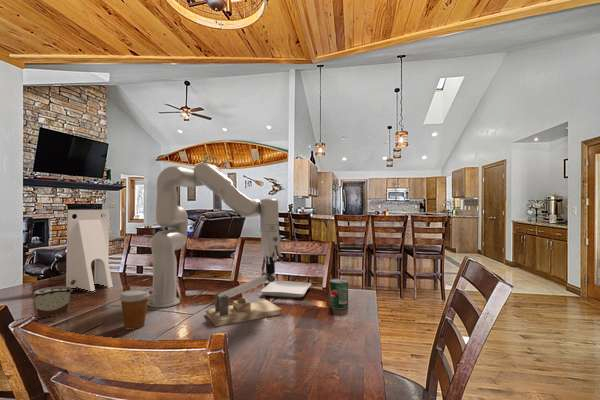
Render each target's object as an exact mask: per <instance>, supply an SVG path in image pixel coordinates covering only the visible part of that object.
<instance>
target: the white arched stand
mask: <svg viewBox="0 0 600 400" xmlns="http://www.w3.org/2000/svg"><path fill="white" fill-rule="evenodd" d="M66 213H67V217H66V221H67V223H66V260H65V261H66V265H65V266H66V267H65V269H66V272H65V275H66V276H65V282H66V283H65V286H68V287H71V288H76V287H78V288H81V289H85V290H88V291H87V292H89V291H94V290H95V291H96V289H95V285H94V284H100V285H99V286H101V285H104V286H103V287H105V286H107V287H106V288H108V289H111V288H110V287H113V280H112V274H111V270H110V264H109V256H110V255H109V253H110V249H109V248H110V209H67V212H66ZM102 214H104V217H102ZM73 215H76V217H75V218H73ZM93 261H94V277H93V271H92V262H93ZM72 281H75V283H74V284H72ZM78 288H77V289H78ZM113 288H114V287H113ZM81 289H80V290H81ZM85 290H84V291H85ZM95 291H94V292H95Z"/></svg>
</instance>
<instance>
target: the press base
mask: <svg viewBox="0 0 600 400" xmlns="http://www.w3.org/2000/svg"><path fill="white" fill-rule="evenodd" d="M223 292H224V291H222V292H215V295H214V296H215V302H214V308H209V309H208V308H206V309H205V315H206V317H208V319H210V321H211V322H212V323H213V324H214V325H215V327H220V326H225V325H229V324H236V323H240V322H246V321H251V320H258V319H263V318H269V317H272V316H273V317H274V316H279V315H282V311H283V310H282V308H281V307H279V306H278V305H276V304H274V303H273V302H271V301H269V300H268V299H266V300H265V299H264V300H258V301H253V302H251V301H248V300H247V299H245V298H244V297H239V298H238V300H237V299H236V300H232V305H229V298H228V295H227V296H220V300H219V299H218V294H220V293H223Z"/></svg>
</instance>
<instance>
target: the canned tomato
mask: <svg viewBox="0 0 600 400" xmlns="http://www.w3.org/2000/svg"><path fill="white" fill-rule="evenodd" d="M329 307H330V308H332V309H335V310H345V309H348V308H349V280H348V279H346V278H331V279H329Z"/></svg>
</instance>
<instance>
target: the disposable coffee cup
mask: <svg viewBox="0 0 600 400" xmlns="http://www.w3.org/2000/svg"><path fill="white" fill-rule="evenodd" d="M150 295H151V293H150V292H149V290H148V289H145V288H144V289H143V288H138V289H135V288H134V289H129V290H124V291H123V292H121V293H120V296H119V299H120V303H121V311H122V319H123V326H124V327H125V328H129V329H130V328H131V329H133V328H138V329H140V328H139V327H141V328H143V327H145V323H146V316H147V309H148V304H149V301H148V298H149V296H150ZM142 326H143V327H142ZM125 328H124V329H125ZM133 330H134V329H133Z"/></svg>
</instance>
